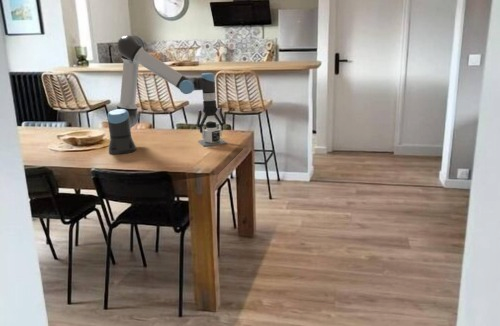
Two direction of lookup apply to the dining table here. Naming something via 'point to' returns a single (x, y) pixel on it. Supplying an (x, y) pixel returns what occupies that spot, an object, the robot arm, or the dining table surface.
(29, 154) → the dining table surface
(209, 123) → the medicine bottle
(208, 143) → the slate coaster
